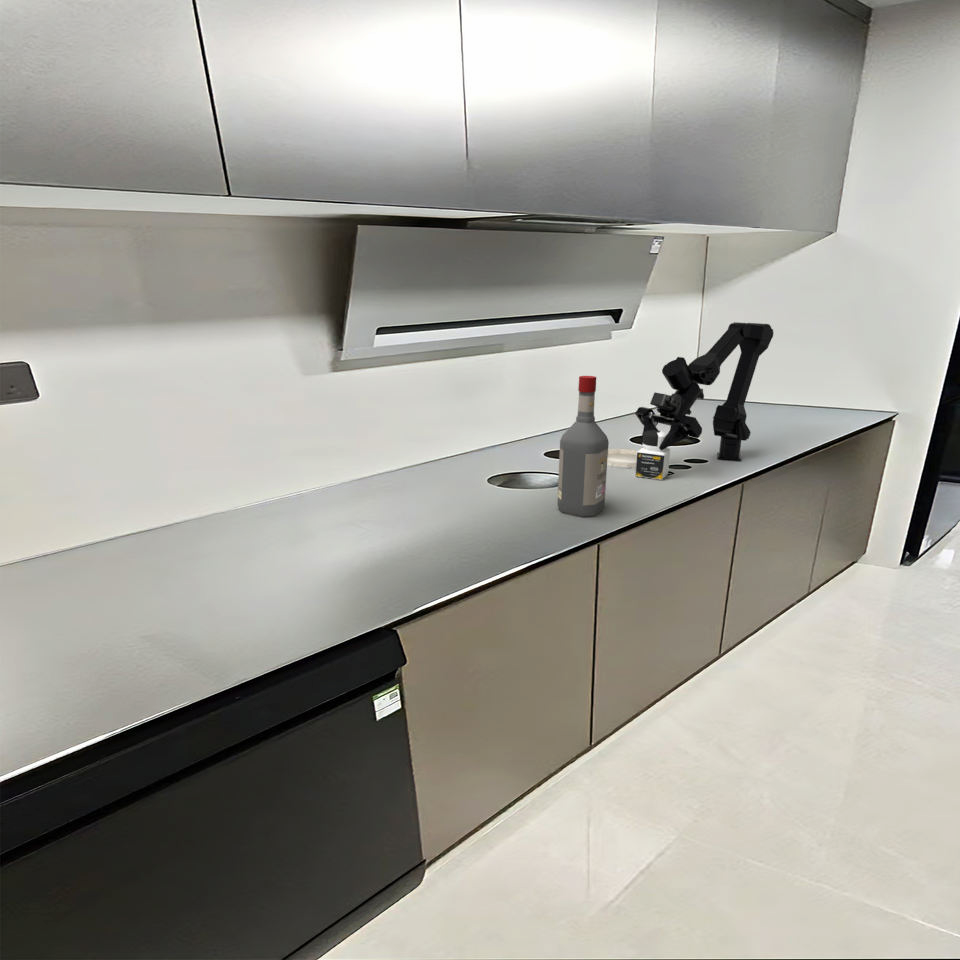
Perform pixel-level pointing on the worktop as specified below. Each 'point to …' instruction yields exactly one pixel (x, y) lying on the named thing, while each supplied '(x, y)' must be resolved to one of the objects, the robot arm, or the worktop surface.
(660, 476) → the medicine bottle
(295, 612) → the worktop surface
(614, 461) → the coaster
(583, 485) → the liquor
